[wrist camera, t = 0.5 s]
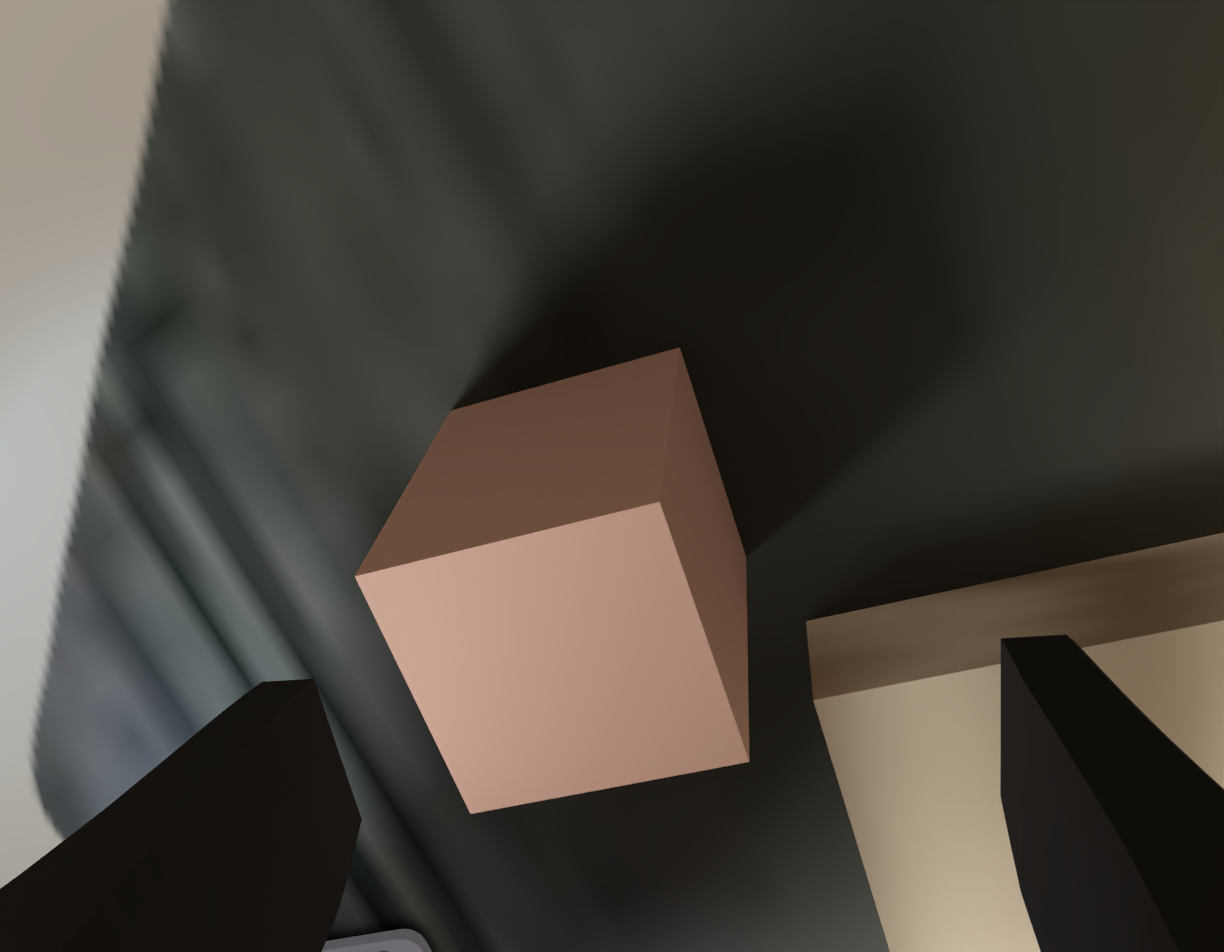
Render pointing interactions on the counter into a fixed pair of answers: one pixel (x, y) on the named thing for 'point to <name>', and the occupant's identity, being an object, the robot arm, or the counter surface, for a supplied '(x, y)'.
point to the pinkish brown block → (570, 589)
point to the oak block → (997, 721)
